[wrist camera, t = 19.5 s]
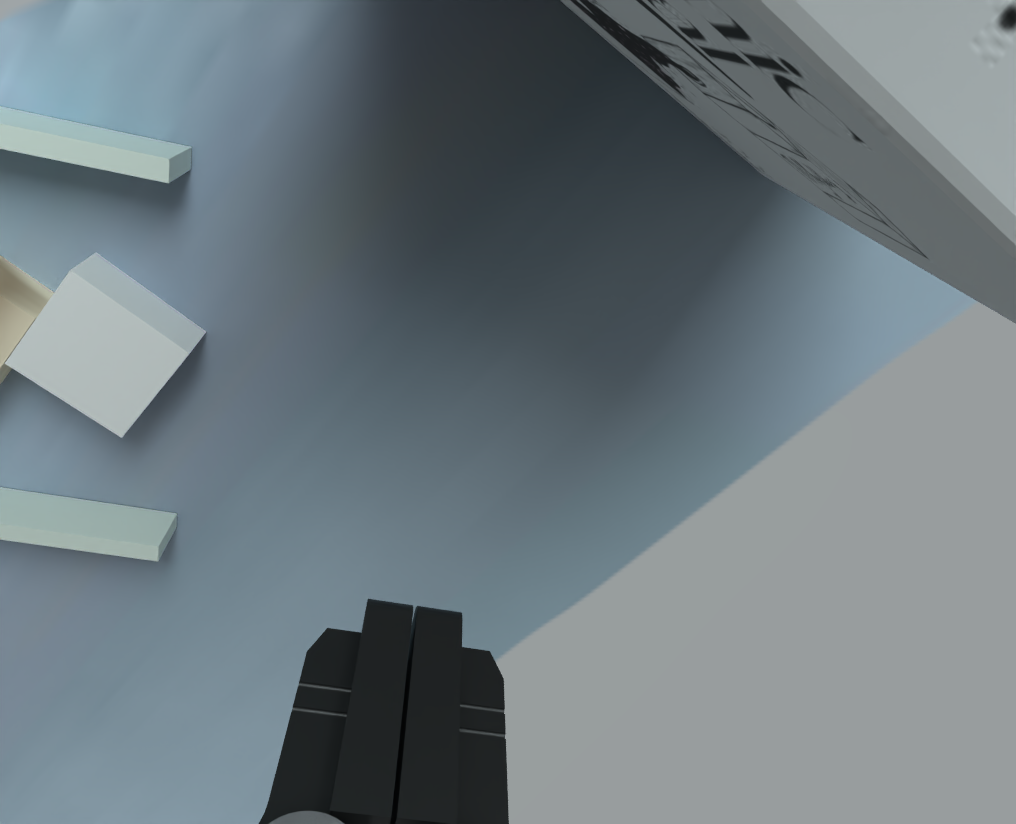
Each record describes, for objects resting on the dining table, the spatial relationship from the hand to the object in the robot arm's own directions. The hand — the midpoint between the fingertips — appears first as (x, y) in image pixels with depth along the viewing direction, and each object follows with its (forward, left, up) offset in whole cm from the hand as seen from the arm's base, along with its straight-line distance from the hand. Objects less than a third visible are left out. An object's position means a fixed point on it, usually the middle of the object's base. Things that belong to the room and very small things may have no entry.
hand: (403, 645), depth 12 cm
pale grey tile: (+9, -15, -28) cm, 33 cm away
